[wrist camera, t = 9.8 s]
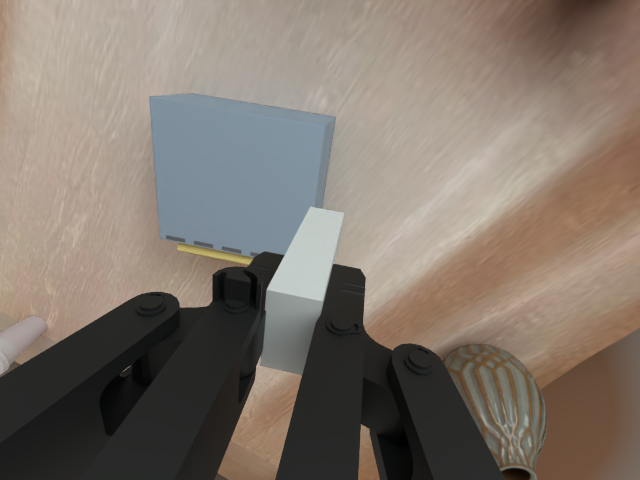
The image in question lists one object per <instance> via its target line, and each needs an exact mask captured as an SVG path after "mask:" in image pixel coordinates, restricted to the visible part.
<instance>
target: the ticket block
mask: <svg viewBox="0 0 640 480" xmlns="http://www.w3.org/2000/svg"><path fill="white" fill-rule="evenodd" d="M149 100H150V113H151V126H152V139H153V152H154V165H155V178H156V191H157V204H158V217H159V230H160V239H164V240H169V241H174V242H179V243H184V244H189V245H194V246H199V247H204V248H209V249H214V250H219V251H224V252H229V253H234V254H239V255H244V256H249V257H255V256H257V255H259V254H260V253H262V252H264V251H266V252H271V253H276V254H281V255H285V254H286V252H287V250H288V248H289V246H290V244H291V242H292V241H293V239H294V237H295V235H296V233H297V231H298V229H299V227H300V225H301V224H302V222H303V220H304V218H305V216H306V214H307V212H308V210H309V208H310V207H315V208H320V209H322V204H323V197H324V191H325V184H326V177H327V171H328V164H329V157H330V151H331V144H332V137H333V131H334V124H335V117H333V116H327V115H321V114H315V113H309V112H303V111H296V110H290V109H284V108H278V107H272V106H266V105H260V104H254V103H248V102H242V101H236V100H229V99H223V98H217V97H211V96H205V95H199V94H193V93H192V94H178V95H164V96H150V97H149Z"/></svg>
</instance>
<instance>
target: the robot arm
mask: <svg viewBox="0 0 640 480" xmlns="http://www.w3.org/2000/svg"><path fill="white" fill-rule="evenodd" d="M343 218H344V213H342V212H337V211H331V210H326V209H320V208H315V207H310V208H309V210H308V212H307V214H306V216H305V218H304V220H303V222H302V224H301V225H300V227H299V229H298V231H297V233H296V235H295V237H294V239H293V241H292V242H291V244H290V246H289V248H288V250H287V252H286V254H285V255H281V254H276V253H271V252H266V251H264V252H262V253H260V254H259V255H257V256H255V257H254V258H253V260H252V261H251V263H250V264H249V266H248V267H247V268H246V267H227V268H224V269H221V270H218V271H217V272H216V273H214V274H213V301H212V302H211V303H210V305H209V306H206V307H197V308H180V306H179V302H178V300H177V298H176V297H174V296H173V295H171V294H168V293H164V292H150V293H145V294H141V295H138V296H136V297H134V298H132V299H130V300H128V301H127V302H125V303H123V304H122V305H120V306H118V307H117V308H115V309H113V310H112V311H110V312H108V313H107V314H105V315H103V316H102V317H100V318H98V319H97V320H95V321H93V322H92V323H90V324H88V325H87V326H85V327H83V328H82V329H80V330H78V331H77V332H75V333H73V334H72V335H70V336H69V337H67V338H65V339H64V340H62V341H60V342H59V343H57V344H55V345H54V346H52V347H50V348H49V349H47V350H45V351H44V352H42V353H40V354H39V355H37V356H35V357H34V358H32V359H30V360H29V361H27V362H25V363H24V364H22V365H20V366H19V367H17V368H15V369H14V370H12V371H10V372H9V373H7V374H6V375H4V376H2V377H0V480H214V479H215V477H216V474H217V472H218V469H219V467H220V464H221V462H222V459H223V457H224V455H225V452H226V450H227V447H228V445H229V442H230V440H231V437H232V435H233V432H234V430H235V427H236V425H237V422H238V420H239V417H240V415H241V413H242V410H243V408H244V405H245V403H246V400H247V398H248V395H249V393H250V390H251V388H252V385H253V383H254V380H255V374H256V365H257V363H258V360H259V358H260V356H261V362H260V366H265V367H269V368H274V369H278V370H283V371H287V372H291V373H296V374H300V375H302V378H301V382H300V386H299V390H298V394H297V398H296V402H295V405H294V409H293V413H292V417H291V421H290V425H289V429H288V433H287V436H286V440H285V444H284V448H283V452H282V456H281V460H280V464H279V468H278V471H277V475H276V479H275V480H358V468H359V449H360V429H361V424H362V425H364V426H366V427H367V428H369V429H370V437H371V441H372V446H373V450H374V455H375V459H376V464H377V468H378V472H379V477H380V480H505V478H504V476H503V474H502V472H501V470H500V469H499V467H498V465H497V463H496V461H495V459H494V457H493V455H492V453H491V451H490V450H489V448H488V446H487V444H486V442H485V440H484V438H483V436H482V434H481V432H480V431H479V429H478V427H477V425H476V423H475V421H474V419H473V417H472V415H471V414H470V412H469V410H468V408H467V406H466V404H465V402H464V400H463V398H462V396H461V395H460V393H459V391H458V389H457V387H456V385H455V383H454V381H453V379H452V377H451V376H450V374H449V372H448V370H447V368H446V366H445V364H444V363H443V362H442V360H441V359H440V358H439V356H437V355H436V354H435V353H433V352H432V351H431V350H429V349H427V348H425V347H423V346H420V345H416V344H401V345H399V346H398V347H396V348H394V350H390V349H388V348H386V347H384V346H382V345H380V344H378V343H377V342H375V341H374V340H373V339H372V338H370V337H369V335H368V334H367V333H366V331H365V329H364V326H363V313H364V296H365V295H364V294H365V279H366V278H365V276H364V274H363V273H362V271H361V269H357V268H352V267H347V266H342V265H337V264H335V261H336V256H337V250H338V245H339V240H340V234H341V229H342V223H343ZM129 366H130V367H129ZM127 367H129V368H128V369H126V368H127ZM125 369H126V370H125ZM124 370H125V371H124ZM122 371H123V372H122ZM121 372H122V373H121Z"/></svg>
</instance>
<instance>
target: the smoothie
mask: <svg viewBox="0 0 640 480" xmlns="http://www.w3.org/2000/svg"><path fill="white" fill-rule="evenodd" d="M46 329H47V325H46V323H45V322H44V320H42V319H41V318H40V317H38V316H30V317H28V318H26V319H24V320H23V321H21V322H19V323H17V324H15V325H13V326H11V327H9V328H7V329H6V330H4V331H2V332H0V374H2V373H3V372H4V371H6V370H7V369H8V368H9V365H10V364H11V363H12V362H13V361H14V360H15V359H16V358H17V357H18V356H19V355H20V354H21V353H22V352H24V351H25V350H26V349H27V348H28V347H29V346H30V345H31V344H32V343H33V342H34V341H35V340H36V339H37V338H38V337H39V336H40V335H41V334H42V333H43V332H44V331H45V330H46Z"/></svg>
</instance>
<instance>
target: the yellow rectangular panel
mask: <svg viewBox="0 0 640 480" xmlns="http://www.w3.org/2000/svg"><path fill="white" fill-rule="evenodd" d="M177 250H180V251H184V252H188V253H192V254H196V255H200V256H205V257H209V258H214V259H219V260H224V261H229V262H234V263H239V264H244V265H248V266H249V264H250V263H251V261H252V260H253V258H254V257H249V256H244V255H239V254H234V253H229V252H224V251H219V250H214V249H209V248H204V247H199V246H194V245H189V244H184V243H179V245H178V249H177Z"/></svg>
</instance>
